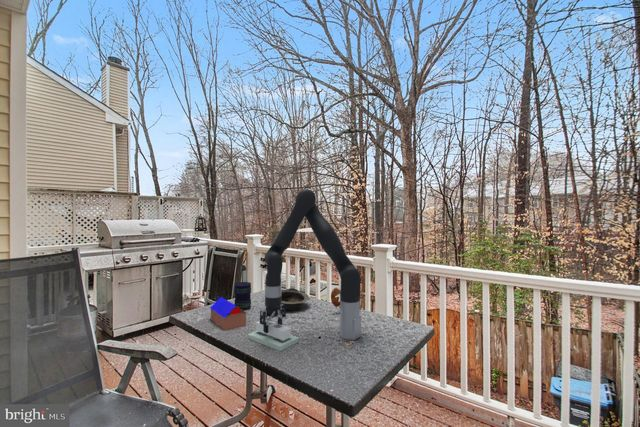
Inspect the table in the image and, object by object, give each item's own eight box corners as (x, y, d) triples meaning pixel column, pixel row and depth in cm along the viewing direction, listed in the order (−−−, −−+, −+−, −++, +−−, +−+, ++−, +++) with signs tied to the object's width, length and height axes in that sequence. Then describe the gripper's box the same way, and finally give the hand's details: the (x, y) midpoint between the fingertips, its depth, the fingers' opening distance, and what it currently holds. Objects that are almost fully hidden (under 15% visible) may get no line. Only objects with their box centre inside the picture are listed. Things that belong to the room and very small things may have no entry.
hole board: (298, 341, 143) (298, 337, 143) (280, 351, 134) (280, 346, 134) (266, 330, 156) (267, 326, 156) (247, 338, 147) (247, 334, 147)
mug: (355, 312, 186) (356, 286, 185) (356, 316, 177) (356, 290, 177) (331, 311, 187) (331, 285, 187) (330, 315, 179) (330, 289, 179)
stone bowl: (271, 300, 207) (272, 286, 207) (309, 303, 207) (310, 289, 207) (264, 312, 182) (266, 296, 182) (307, 316, 182) (309, 300, 182)
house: (224, 331, 156) (224, 307, 155) (209, 320, 171) (210, 298, 171) (246, 325, 163) (247, 303, 163) (231, 315, 179) (231, 294, 178)
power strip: (291, 343, 141) (291, 327, 141) (283, 347, 137) (283, 331, 137) (263, 333, 152) (264, 318, 152) (255, 336, 149) (256, 321, 148)
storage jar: (234, 306, 194) (234, 282, 194) (250, 305, 197) (250, 281, 197) (234, 311, 185) (234, 286, 184) (251, 310, 188) (251, 285, 187)
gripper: (267, 299, 137) (267, 337, 137) (289, 293, 148) (289, 327, 148) (255, 296, 141) (255, 332, 141) (278, 290, 153) (278, 323, 153)
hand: (273, 330), depth 145 cm, fingers open, 8 cm apart
